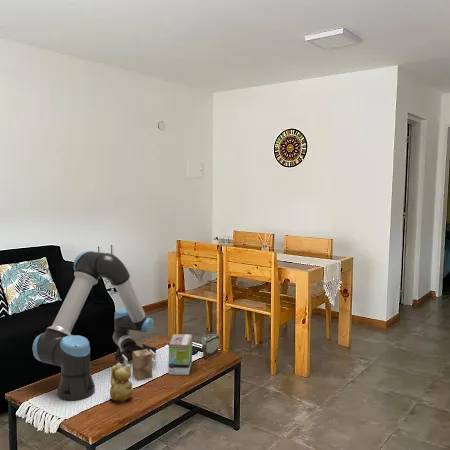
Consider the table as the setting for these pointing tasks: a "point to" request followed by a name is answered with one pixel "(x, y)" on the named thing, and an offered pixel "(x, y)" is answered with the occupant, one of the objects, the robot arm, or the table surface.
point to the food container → (210, 345)
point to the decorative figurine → (121, 383)
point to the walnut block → (142, 364)
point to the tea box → (180, 354)
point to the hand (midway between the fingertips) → (141, 359)
